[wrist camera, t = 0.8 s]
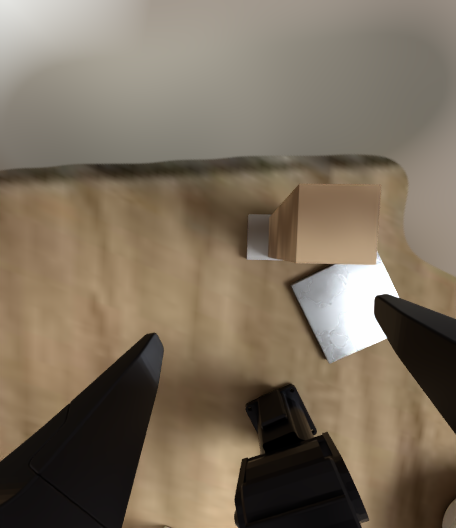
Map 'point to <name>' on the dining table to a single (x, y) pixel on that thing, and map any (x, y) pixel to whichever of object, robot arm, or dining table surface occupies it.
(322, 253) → the block
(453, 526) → the paper bowls
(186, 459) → the dining table surface
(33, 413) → the dining table surface
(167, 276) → the dining table surface
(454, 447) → the dining table surface
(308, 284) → the steel plate
